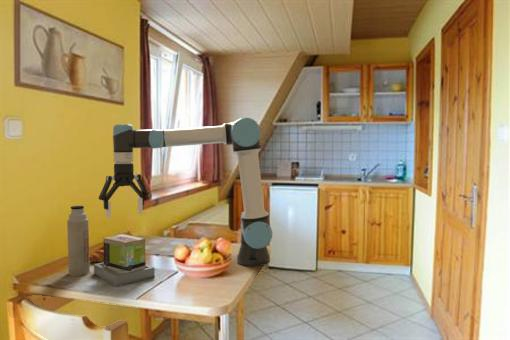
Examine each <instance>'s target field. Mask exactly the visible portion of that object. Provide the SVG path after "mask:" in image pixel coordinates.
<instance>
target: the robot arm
mask: <svg viewBox="0 0 510 340" xmlns="http://www.w3.org/2000/svg"><path fill="white" fill-rule="evenodd" d="M112 130H113V132H112V142H113V143H112V145H113V163H114V164H113V174H114V175H113V176H112V175H106V177H105V183H104V185H103V187H102V189H101V191H100V193H99V195H98V199H99V200H100V201H103V209H104V210H105V218H108V219H111V218H112V208H111V203H112V202H111V200H110V199H111V198H112V196H113V195H114V194H115V193H116V191H117V190H118V189H119V188H120V187H129V186H130V188H132V189H133V191H134V192H135V193H136V195H138V197H137V214H141V215H143V214H144V211H143V207H144V206H145V198H146V197H147V196H149V192H148V190H147V188H146V186H145V183H144V182H143V180H142V175H141V174H139V173H135V174H134V163H133V162H134V149H162V148H170V147H171V148H172V147H181V146H182V147H184V146H185V147H186V146H198V145H199V146H200V145H211V144H224V145H225V146H228V145H229V146H230V145H231V146H232V151H233V153H234V154H235V155H236V156H237V163H238V170H239V171H238V172H239V179H240V187H241V195H242V204H243V211H242V212H241V213H240V217H239V218H240V247H239V249H238V254H237V256H236V262H237V264H239V265H243V266H249V267H258V266H265V265H268V264H270V262H271V256H270V254H269V250H268V249H269V248H268V246H269V244H270V243H271V241H272V239H273V230H272V228H271V223H270V214H269V213H270V212H268V211H267V210H266V209H265V204H264V203H265V201H264V193H263V187H262V186H263V185H262V177H261V175H262V174H261V169H260V168H261V167H260V160H259V158H260V157H259V152H260V151H261V150H262V146H261V133H262V131H261V127H260V125H259V124H258V122H257V121H256V120H255V119H252V118H250V117H239V118H238V119H236V120H235V121H233V122H227V123H226V122H225V123H223V124H222V125H215V126H201V127H200V126H199V127H187V128H186V127H185V128H174V129H173V128H172V129H171V128H170V129H154V128H153V129H135V128H134V127H133V125H132V124H119V123H118V124H115V125H114V126H113V129H112ZM134 180H135V181H136V182H137V183H135V182H134ZM113 181H114V183H112V182H113ZM136 184H137V185H138V186H137V185H136ZM111 185H112V186H111ZM110 186H111V188H110ZM109 188H110V189H109Z"/></svg>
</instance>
